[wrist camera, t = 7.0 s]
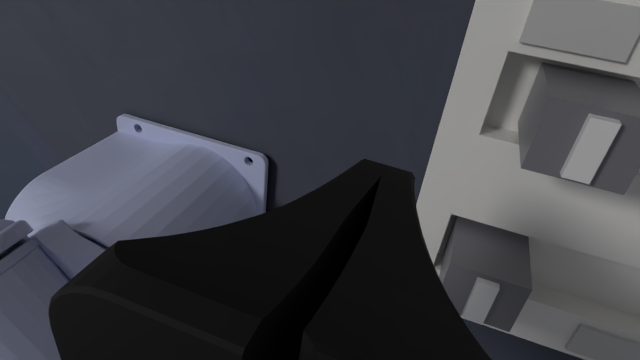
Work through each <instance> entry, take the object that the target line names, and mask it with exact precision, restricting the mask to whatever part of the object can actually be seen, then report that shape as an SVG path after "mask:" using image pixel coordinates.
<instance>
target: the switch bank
mask: <svg viewBox="0 0 640 360" xmlns="http://www.w3.org/2000/svg"><path fill="white" fill-rule="evenodd" d="M542 62H544V63H549V64H554V65H558V66H563V67H568V68H573V69H578V70H583V71H588V72H593V73H597V74H602V75H607V76H612V77H617V78H622V79H627V80H632V81H634V82H635V83H636V84H637V86H638V87H639V88H640V0H476V1H475V5H474V8H473V12H472V15H471V19H470V22H469V25H468V29H467V32H466V36H465V39H464V43H463V46H462V50H461V53H460V56H459V60H458V63H457V67H456V70H455V74H454V77H453V80H452V84H451V87H450V91H449V94H448V98H447V101H446V105H445V108H444V111H443V115H442V118H441V122H440V125H439V129H438V132H437V135H436V139H435V142H434V146H433V149H432V153H431V156H430V160H429V163H428V166H427V170H426V173H425V177H424V180H423V184H422V187H421V191H420V194H419V197H418V201H417V204H416V208H417V213H418V217H419V222H420V226H421V230H422V233H423V237H424V240H425V243H426V246H427V249H428V252H429V255H430V257H431V260H432V262H433V265H434V267H435V269H436V272H437V274H438V276H439V275H440V269H441V263H442V258H443V252H444V248H445V245H446V243H447V240H448V237H449V234H450V231H451V229H452V226H453V223H454V220H455V217H456V216H460V217H463V218H467V219H470V220H474V221H477V222H480V223H484V224H487V225H491V226H494V227H498V228H501V229H504V230H508V231H511V232H515V233H518V234H521V235H525V236H528V238H529V251H530V265H531V278H532V292H531V294H530V295H529V297H528V299H527V301H526V303H525V305H524V306H523V308H522V310H521V312H520V314H519V316H518V317H517V319H516V321H515V323H514V325H513V327H512V328H511V330H510V332H507V331H504V330H501V329H498V328H496V327H493V326H490V325H487V324H484V323H483V324H482V325H485V326H488V327H491V328H494V329H497V330H500V331H503V332H506V333H509V334H512V335H514V336H517V337H520V338H523V339H526V340H529V341H532V342H535V343H538V344H541V345H544V346H546V347H549V348H552V349H555V350H558V351H561V352H564V353H567V354H570V355H573V356H576V357H578V358H581V359H584V360H640V169H639V171H638V173H637V174H636V176H635V178H634V179H633V181H632V183H631V184H630V186H629V188H628V189H627V191H626V192H625V194H624V195H622V194H618V193H614V192H610V191H606V190H602V189H598V188H595V187H591V186H587V185H583V184H579V183H575V182H572V181H568V180H564V179H560V178H556V177H552V176H548V175H545V174H541V173H537V172H533V171H529V170H525V169H521V165H520V150H519V135H518V121H519V118H520V116H521V113H522V111H523V108H524V106H525V103H526V101H527V98H528V96H529V93H530V91H531V88H532V86H533V83H534V81H535V78H536V76H537V73H538V70H539V68H540V65H541V63H542ZM460 316H461V315H460ZM461 317H462V316H461Z"/></svg>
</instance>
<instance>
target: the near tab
mask: <svg viewBox="0 0 640 360" xmlns="http://www.w3.org/2000/svg"><path fill="white" fill-rule="evenodd" d="M518 135H519V150H520V165H521V169H525V170H529V171H533V172H537V173H541V174H545V175H548V176H552V177H556V178H560V179H564V180H568V181H572V182H575V183H579V184H583V185H587V186H591V187H595V188H598V189H602V190H606V191H610V192H614V193H618V194H622V195H624V194H625V192H626V191H627V189H628V188H629V186H630V184H631V183H632V181H633V179H634V178H635V176H636V174H637V173H638V171H639V169H640V88H639V87H638V86H637V84H636V83H635V82H634V81H632V80H627V79H622V78H617V77H612V76H607V75H602V74H597V73H593V72H588V71H583V70H578V69H573V68H568V67H563V66H558V65H554V64H549V63H544V62H542V63H541V65H540V68H539V70H538V73H537V76H536V78H535V81H534V83H533V86H532V88H531V91H530V93H529V96H528V98H527V101H526V103H525V106H524V108H523V111H522V113H521V116H520V118H519V121H518Z"/></svg>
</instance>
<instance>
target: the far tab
mask: <svg viewBox="0 0 640 360" xmlns="http://www.w3.org/2000/svg"><path fill="white" fill-rule="evenodd" d="M439 278H440V280H441V282H442V284H443V286H444V288H445V290H446V292H447V294H448V296H449V298H450V300H451V301H452V303H453V305H454V306H455V308H456V310H457V311H458V313H459V315H461V316H462V318H464V319H467V320H469V321H472V322H475V323H478V324H481V325H482V324H483V323H484V324H487V325H490V326H493V327H496V328H498V329H501V330H504V331H507V332H510V330H511V328H512V327H513V325H514V323H515V321H516V319H517V317H518V316H519V314H520V312H521V310H522V308H523V306H524V305H525V303H526V301H527V299H528V297H529V295H530V294H531V292H532V278H531V265H530V251H529V238H528V236H525V235H521V234H518V233H515V232H511V231H508V230H504V229H501V228H498V227H494V226H491V225H487V224H484V223H480V222H477V221H474V220H470V219H467V218H463V217H460V216H456V217H455V220H454V223H453V226H452V229H451V231H450V234H449V237H448V240H447V243H446V245H445V248H444V252H443V258H442V263H441V269H440V275H439Z"/></svg>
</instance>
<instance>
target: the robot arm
mask: <svg viewBox="0 0 640 360" xmlns="http://www.w3.org/2000/svg"><path fill="white" fill-rule="evenodd" d="M139 125H140V127H141V128H142V129H141V128H140V127H139ZM117 127H118V132H116V133H114V134H112V135H111V136H109V137H107V138H105V139H103V140H102V141H100V142H98V143H96V144H94V145H93V146H91V147H89V148H87V149H86V150H84V151H82V152H80V153H78V154H77V155H75V156H73V157H71V158H69V159H68V160H66V161H64V162H62V163H60V164H59V165H57V166H55V167H53V168H52V169H50V170H48V171H46V172H44V173H43V174H41V175H39V176H38V177H36V178H35V179H34V180H32V181H31V182H30V183H29V184H28V185H27V186H26V187H25V188H24V189H23V190H22V191H21V192H20V193H19V195H18V196H17V197H16V199H15V200H14V202H13V203H12V205H11V206H10V208H9V210H8V212H7V214H6V217H5V220H4V219H0V360H491V359H490V357H489V356H488V355H487V354H486V353H485V351H484V350H483V349H482V347H481V346H480V345H479V343H478V342H477V340H476V339H475V338H474V336H473V335H472V333H471V332H470V331H469V329H468V328H467V326H466V324H465V323H464V321H463V320H462V318H461V316H460V315H459V313H458V311H457V310H456V308H455V306H454V305H453V303H452V301H451V300H450V298H449V296H448V294H447V292H446V290H445V288H444V286H443V284H442V282H441V280H440V278H439V276H438V274H437V272H436V269H435V267H434V265H433V262H432V260H431V257H430V255H429V252H428V249H427V246H426V243H425V240H424V237H423V233H422V230H421V226H420V222H419V217H418V213H417V208H416V202H415V193H414V181H415V177H414V175H413V173H412V172H408V171H405V170H401V169H398V168H394V167H391V166H388V165H384V164H381V163H377V162H374V161H370V160H367V159H363V160H361V161H360V162H358V163H357V164H355V165H354V166H352V167H351V168H349V169H348V170H346V171H345V172H343V173H342V174H340V175H339V176H337V177H336V178H334V179H332V180H331V181H329V182H327V183H326V184H324V185H322V186H321V187H319V188H317V189H316V190H314V191H312V192H310V193H308V194H306V195H304V196H302V197H300V198H298V199H296V200H294V201H292V202H290V203H288V204H286V205H284V206H281V207H279V208H276V209H274V210H271V211H268V212H266V199H267V181H268V164H269V163H268V159H267V157H266V156H265V155H264V154H262V153H259V152H256V151H252V150H249V149H245V148H242V147H239V146H235V145H232V144H228V143H225V142H221V141H218V140H214V139H211V138H207V137H204V136H201V135H197V134H194V133H190V132H187V131H183V130H180V129H176V128H173V127H169V126H166V125H162V124H159V123H156V122H152V121H149V120H145V119H142V118H138V117H135V116H131V115H128V114H122V115H120V116H119V117H118V118H117ZM248 157H250V158H251V159H252V160H253V162H251V161H249V159H248Z"/></svg>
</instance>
